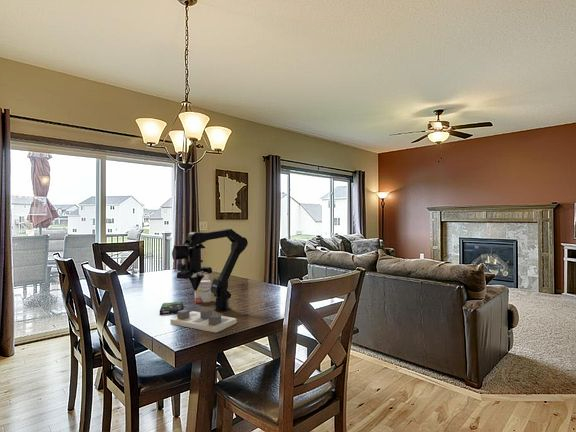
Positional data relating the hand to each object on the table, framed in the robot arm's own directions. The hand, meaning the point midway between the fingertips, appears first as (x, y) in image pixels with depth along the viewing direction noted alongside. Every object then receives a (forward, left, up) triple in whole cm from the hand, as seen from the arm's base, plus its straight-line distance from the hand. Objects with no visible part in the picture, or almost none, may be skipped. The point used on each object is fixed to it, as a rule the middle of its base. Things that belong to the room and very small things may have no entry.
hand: (195, 290), depth 166 cm
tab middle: (+6, +12, -10) cm, 17 cm away
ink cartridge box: (-21, -14, -12) cm, 28 cm away
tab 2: (+11, +21, -10) cm, 26 cm away
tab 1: (+11, +3, -10) cm, 15 cm away
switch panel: (+8, +12, -12) cm, 19 cm away
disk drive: (-1, -17, -13) cm, 21 cm away
